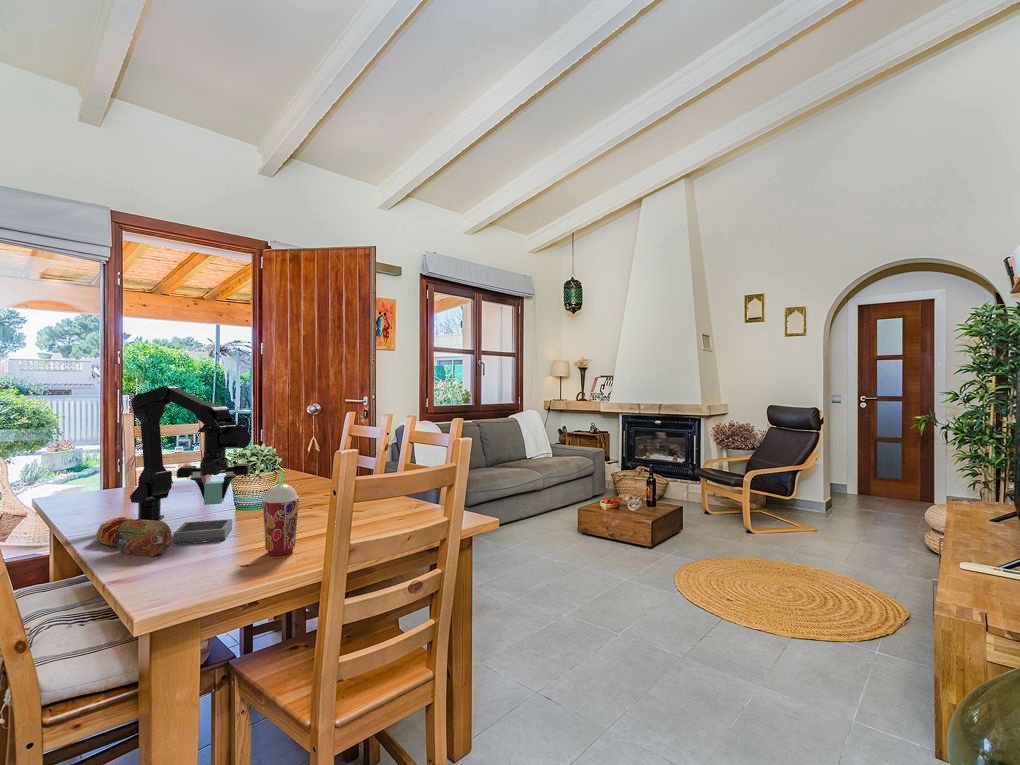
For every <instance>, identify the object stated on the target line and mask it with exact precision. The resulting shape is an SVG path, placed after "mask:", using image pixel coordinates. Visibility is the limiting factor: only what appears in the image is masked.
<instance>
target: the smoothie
mask: <svg viewBox="0 0 1020 765" xmlns="http://www.w3.org/2000/svg"><path fill="white" fill-rule="evenodd" d="M283 475H284V473H283V472H280V473H279V483H277V484H275V485H272V486H271V487H270V488H269V489H268V490H267V491H266V493H265V495H264V497H263V498H262V505H263V526H264V542H265V543H264V546H265V550H266V551H267V554H268V555H269V556H272V555H273V557H274V555H275V557H278V556H277V555H281V556H286V555H288V554H291V553H292V552H293V550H294V548H295V547H296V538H297V537H296V536H297V526H298V525H297V524H298V513H299V512H298V511H299V499H300V497H299V495H298V493H297V491H296V490H295V488H294V487H293V486H291V485H290V484H287V483H283V482H284V481H283V479H284V478H283ZM285 554H286V555H285Z"/></svg>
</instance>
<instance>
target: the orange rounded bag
mask: <svg viewBox="0 0 1020 765" xmlns="http://www.w3.org/2000/svg"><path fill="white" fill-rule="evenodd" d="M115 542H116V545H117V546H116V548H117V550H119V552H120V553H122V554H123V553H124V555H127V554H133V555H132V556H139V555H143V556H142V557H155V556H157V555H160V554H163V553H165V552H166V551H167V550H168V549H169V548H170V546H171V542H172V530H171V528H170V526H169V525H168V524H167V523H166V521H164V520H163V521H162V520H159V521H154V520H139V519H138V518H135V520H127V521H124V522H122V523H121V524H120V525H119V526H118V528H117V530H116V534H115Z"/></svg>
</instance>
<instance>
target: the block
mask: <svg viewBox="0 0 1020 765" xmlns="http://www.w3.org/2000/svg"><path fill="white" fill-rule="evenodd" d="M223 485H224V480H223V481H222V480H220V481H219V480H218V481H206V484H204V499H203V504H204V505H205V506H207V505H221V504H223V502H224V501H225V498H224V499H222V492H223Z"/></svg>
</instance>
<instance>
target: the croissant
mask: <svg viewBox="0 0 1020 765" xmlns="http://www.w3.org/2000/svg"><path fill="white" fill-rule="evenodd" d="M135 519H136V518H132V517H131V516H130V517H129V516H118V517H115V518H112V519H109V520H107V521H105V522H103V523H101V524H100V525H99V527H98V530H97V531H96V538H95V539H96V541H98V542H99V543H100V544H101V543H102V545H104V544H105V545H106V546H111V547H117V545H116V542H115V534H116V530H117V528H118V526H119V525H120V524H121V523H122V522H124V521H127V520H135ZM105 545H104V546H105Z"/></svg>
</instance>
